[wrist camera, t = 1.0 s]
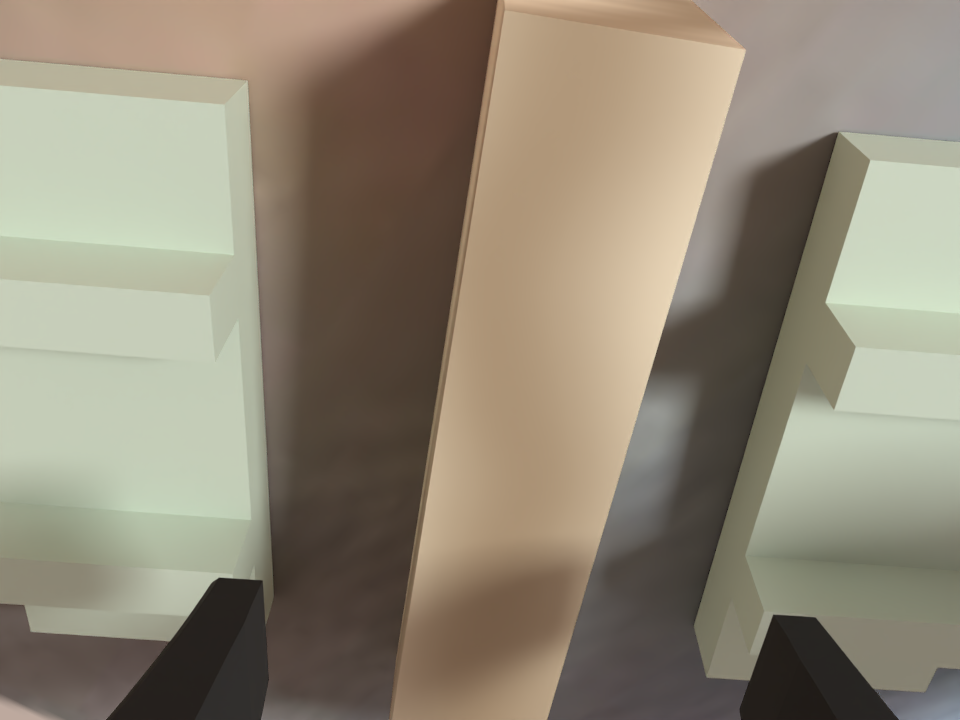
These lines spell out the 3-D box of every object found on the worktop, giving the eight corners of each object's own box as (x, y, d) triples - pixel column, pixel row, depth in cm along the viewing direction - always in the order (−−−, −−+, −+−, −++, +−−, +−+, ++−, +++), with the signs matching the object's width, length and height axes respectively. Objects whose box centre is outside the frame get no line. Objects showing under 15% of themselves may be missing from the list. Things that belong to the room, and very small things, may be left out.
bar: (686, -4, 14) (746, 50, 11) (515, 663, 23) (519, 814, 19) (502, -36, 14) (504, 10, 11) (397, 649, 22) (379, 798, 19)
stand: (1125, 156, 15) (1252, 223, 13) (899, 640, 22) (954, 751, 19) (-57, 54, 15) (-174, 102, 12) (59, 582, 21) (-2, 688, 18)
